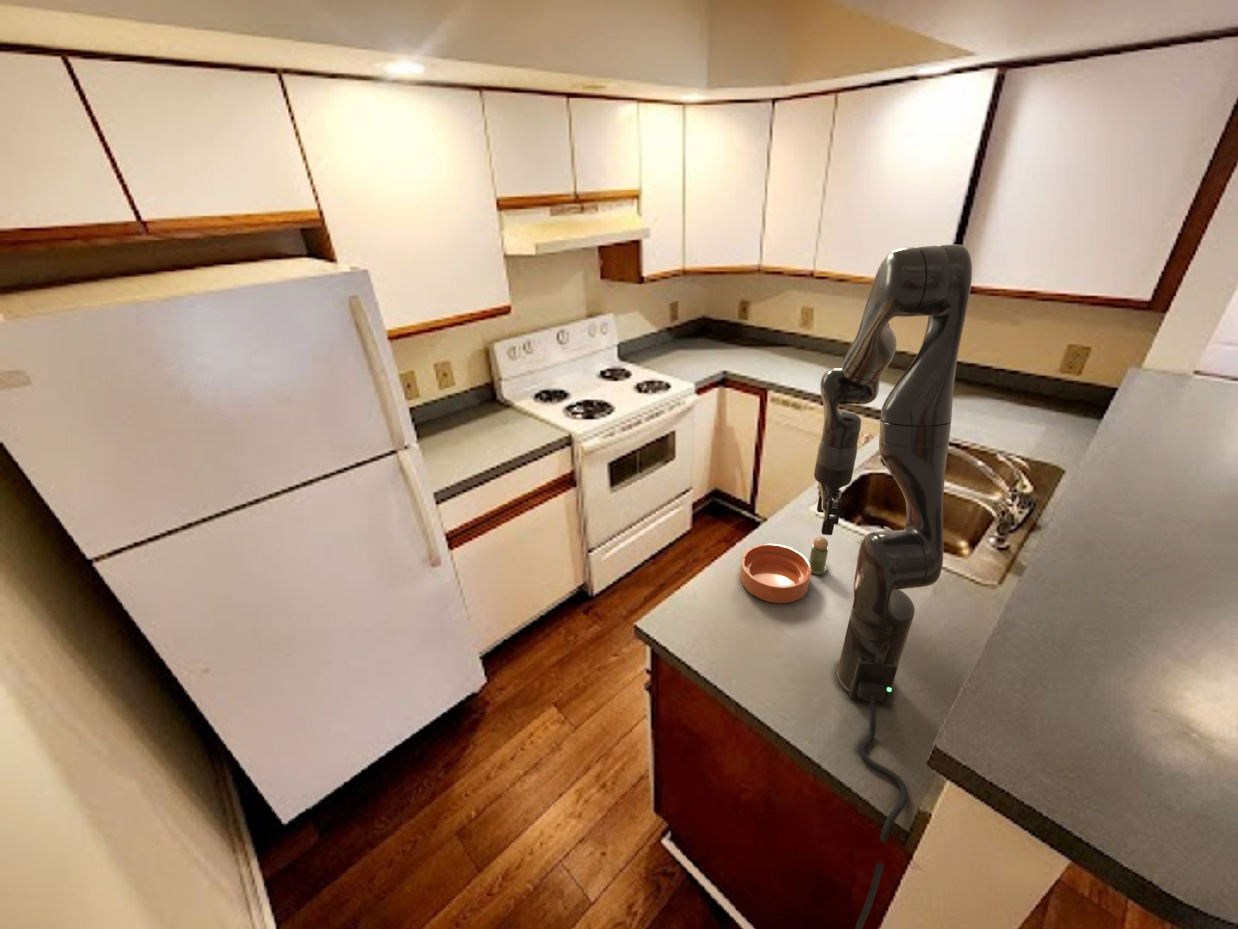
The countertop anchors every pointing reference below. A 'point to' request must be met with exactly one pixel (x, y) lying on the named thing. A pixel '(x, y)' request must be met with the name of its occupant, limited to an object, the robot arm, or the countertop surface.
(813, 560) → the peg doll
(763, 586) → the bowl
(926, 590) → the countertop surface
